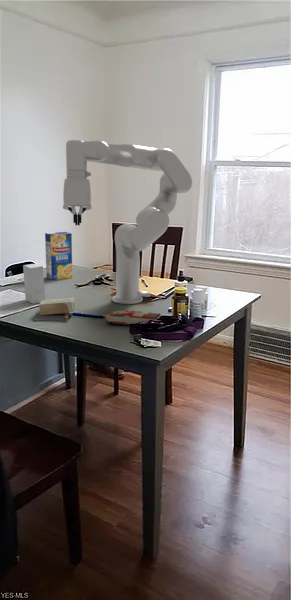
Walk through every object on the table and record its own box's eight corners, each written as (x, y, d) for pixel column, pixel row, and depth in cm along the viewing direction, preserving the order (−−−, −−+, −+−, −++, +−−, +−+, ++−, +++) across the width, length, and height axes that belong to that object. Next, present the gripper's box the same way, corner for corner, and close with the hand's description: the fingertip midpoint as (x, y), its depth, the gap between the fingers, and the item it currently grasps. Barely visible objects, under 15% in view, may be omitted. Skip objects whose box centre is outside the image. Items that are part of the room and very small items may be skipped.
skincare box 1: (45, 302, 197) (44, 266, 193) (31, 304, 194) (30, 267, 190) (38, 297, 204) (36, 262, 200) (24, 299, 201) (22, 264, 197)
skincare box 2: (76, 308, 184) (44, 310, 185) (74, 297, 183) (42, 299, 183) (72, 313, 178) (40, 315, 178) (71, 301, 176) (38, 304, 177)
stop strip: (69, 310, 187) (69, 306, 187) (67, 321, 174) (67, 317, 173) (66, 310, 187) (66, 306, 187) (64, 321, 174) (64, 317, 173)
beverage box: (46, 277, 241) (44, 233, 235) (66, 275, 247) (65, 231, 241) (51, 280, 235) (50, 234, 229) (72, 277, 241) (71, 233, 235)
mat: (66, 311, 186) (66, 310, 186) (64, 320, 175) (64, 319, 174) (37, 311, 185) (37, 310, 185) (33, 321, 173) (33, 320, 173)
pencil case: (113, 317, 181) (113, 304, 179) (164, 322, 176) (164, 309, 174) (102, 326, 171) (102, 312, 169) (156, 332, 166) (157, 318, 164)
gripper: (97, 175, 184) (97, 224, 189) (57, 174, 183) (58, 223, 188) (97, 175, 177) (97, 226, 182) (55, 174, 175) (56, 226, 180)
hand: (77, 224), depth 185 cm, fingers closed
